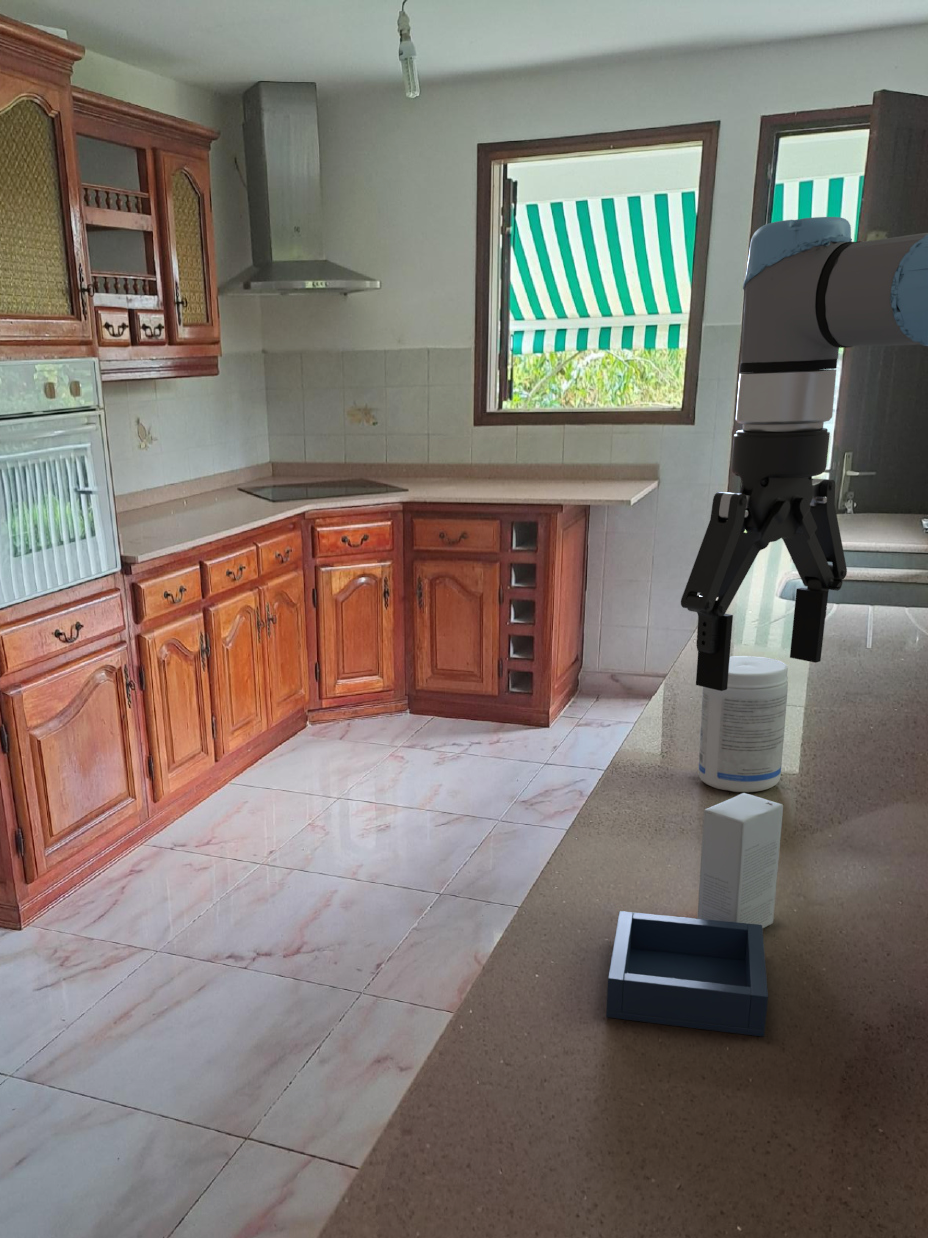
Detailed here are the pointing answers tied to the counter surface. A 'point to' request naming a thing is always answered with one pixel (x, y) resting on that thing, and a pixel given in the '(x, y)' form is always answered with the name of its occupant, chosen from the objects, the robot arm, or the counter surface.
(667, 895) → the counter surface
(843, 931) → the counter surface
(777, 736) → the supplement tub
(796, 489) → the robot arm
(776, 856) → the cosmetic box
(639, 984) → the holder
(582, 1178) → the counter surface
